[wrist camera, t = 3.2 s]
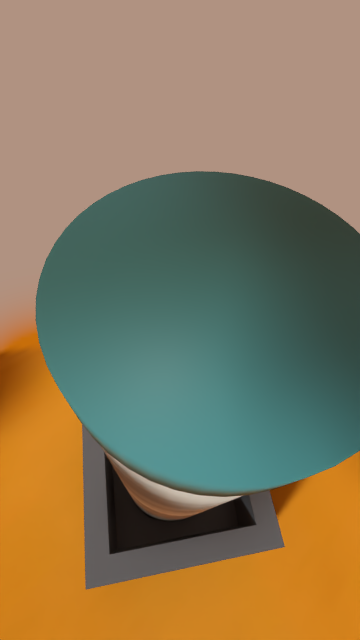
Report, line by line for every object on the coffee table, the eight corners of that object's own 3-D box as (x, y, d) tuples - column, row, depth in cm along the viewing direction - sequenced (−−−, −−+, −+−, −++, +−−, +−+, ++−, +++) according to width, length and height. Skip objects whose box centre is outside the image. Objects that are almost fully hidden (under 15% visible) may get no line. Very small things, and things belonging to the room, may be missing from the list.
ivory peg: (231, 489, 15) (492, 350, 4) (151, 544, 14) (149, 608, 2) (185, 411, 17) (258, 144, 5) (110, 453, 16) (-12, 225, 4)
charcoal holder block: (258, 543, 15) (284, 546, 12) (100, 576, 14) (85, 589, 11) (222, 394, 18) (236, 368, 15) (94, 412, 17) (81, 388, 14)
